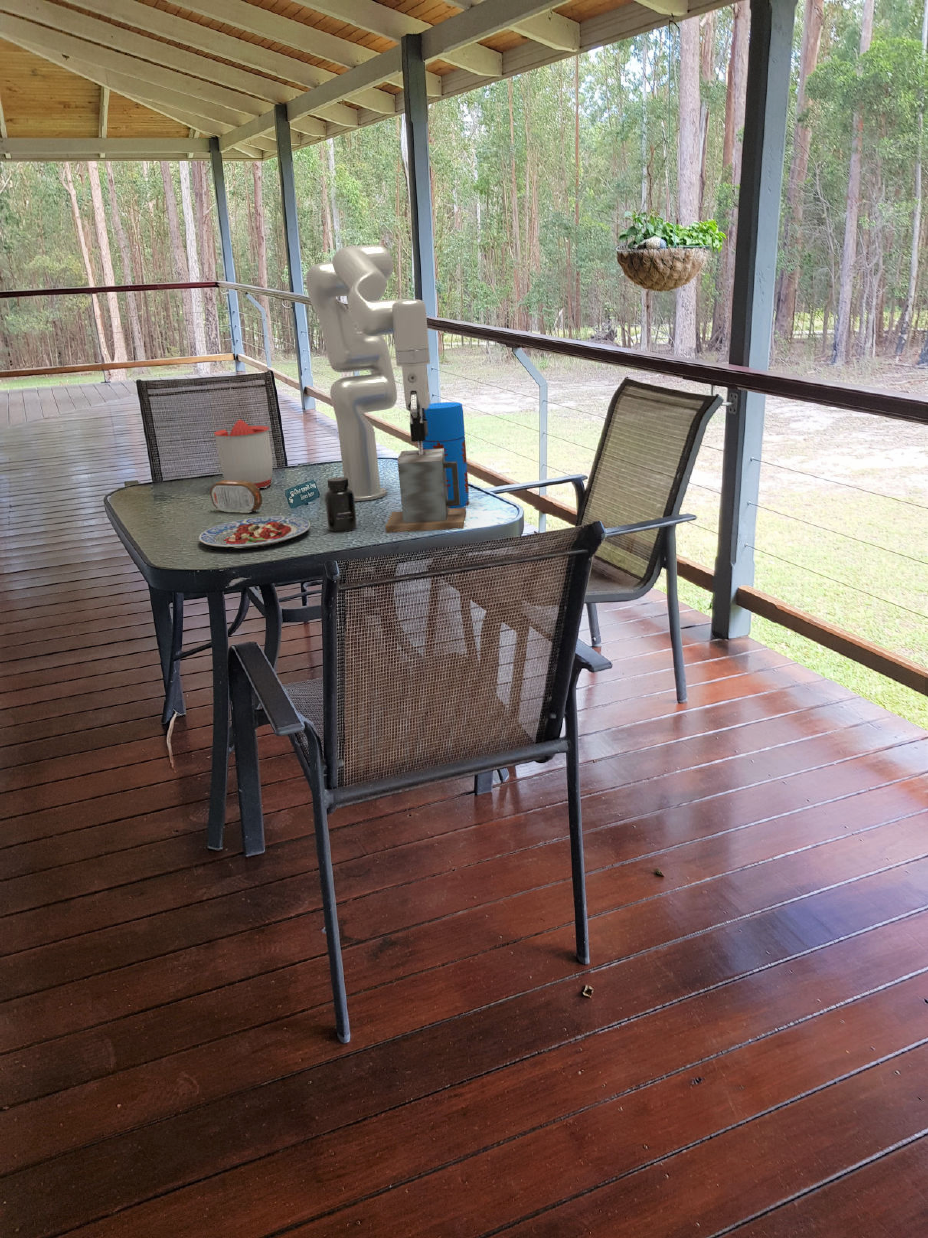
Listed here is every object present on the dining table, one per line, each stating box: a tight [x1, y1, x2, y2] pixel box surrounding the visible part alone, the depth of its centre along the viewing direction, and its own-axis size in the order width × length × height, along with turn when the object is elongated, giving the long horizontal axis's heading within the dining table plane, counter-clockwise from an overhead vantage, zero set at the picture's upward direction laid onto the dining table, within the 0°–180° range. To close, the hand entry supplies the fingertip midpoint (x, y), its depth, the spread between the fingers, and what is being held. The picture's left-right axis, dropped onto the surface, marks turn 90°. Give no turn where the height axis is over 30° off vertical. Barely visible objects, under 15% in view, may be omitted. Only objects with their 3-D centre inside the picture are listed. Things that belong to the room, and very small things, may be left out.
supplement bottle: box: [324, 476, 358, 533], centre depth 227 cm, size 7×7×12 cm
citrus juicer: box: [213, 419, 274, 488], centre depth 280 cm, size 16×17×20 cm
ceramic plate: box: [198, 515, 311, 548], centre depth 226 cm, size 26×26×3 cm
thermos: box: [422, 401, 470, 509], centre depth 240 cm, size 11×11×25 cm
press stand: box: [384, 448, 467, 534], centre depth 226 cm, size 18×14×16 cm
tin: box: [209, 479, 263, 512], centre depth 252 cm, size 15×3×8 cm, turn 65°
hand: (419, 437), depth 222 cm, fingers open, 5 cm apart
